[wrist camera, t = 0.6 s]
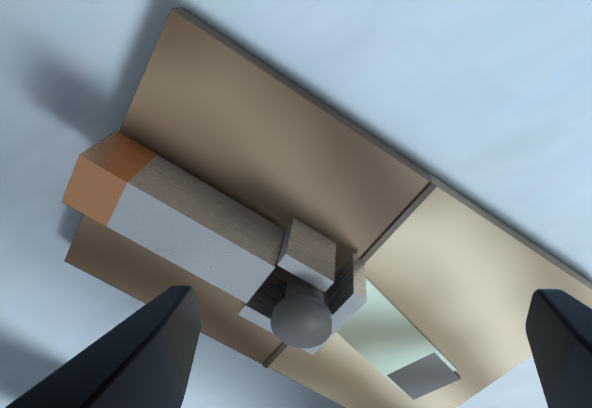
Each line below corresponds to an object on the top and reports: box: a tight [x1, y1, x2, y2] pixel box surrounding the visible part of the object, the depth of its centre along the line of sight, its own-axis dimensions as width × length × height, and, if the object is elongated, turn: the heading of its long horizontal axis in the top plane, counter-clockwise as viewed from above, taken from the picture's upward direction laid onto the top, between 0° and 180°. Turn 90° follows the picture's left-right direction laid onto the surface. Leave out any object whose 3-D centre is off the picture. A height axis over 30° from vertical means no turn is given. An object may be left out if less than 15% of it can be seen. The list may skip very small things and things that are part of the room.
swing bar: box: [62, 130, 367, 355], centre depth 19 cm, size 13×4×3 cm, turn 58°
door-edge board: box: [64, 7, 592, 408], centre depth 20 cm, size 15×24×6 cm, turn 58°
